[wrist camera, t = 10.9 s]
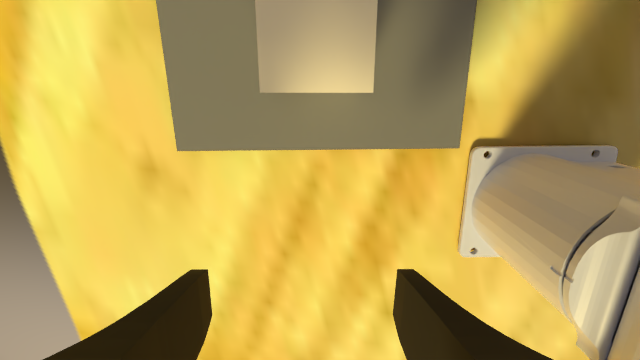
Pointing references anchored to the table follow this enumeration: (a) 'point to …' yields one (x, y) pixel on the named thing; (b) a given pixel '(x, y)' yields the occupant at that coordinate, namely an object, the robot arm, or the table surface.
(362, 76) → the cream block
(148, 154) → the table surface
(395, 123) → the desk pad
